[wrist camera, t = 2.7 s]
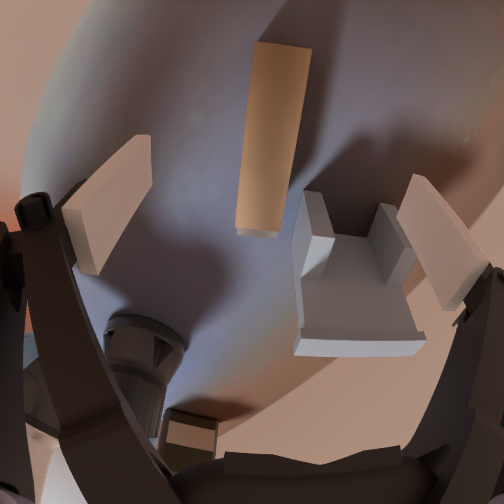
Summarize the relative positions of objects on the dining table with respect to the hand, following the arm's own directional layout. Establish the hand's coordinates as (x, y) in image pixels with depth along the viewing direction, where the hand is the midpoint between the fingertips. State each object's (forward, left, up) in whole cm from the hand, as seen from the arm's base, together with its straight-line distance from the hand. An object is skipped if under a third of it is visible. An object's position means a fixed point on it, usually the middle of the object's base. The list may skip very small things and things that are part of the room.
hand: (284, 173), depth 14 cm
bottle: (-11, -83, -15) cm, 85 cm away
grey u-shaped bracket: (+10, -12, -15) cm, 21 cm away
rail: (0, -2, -15) cm, 15 cm away
